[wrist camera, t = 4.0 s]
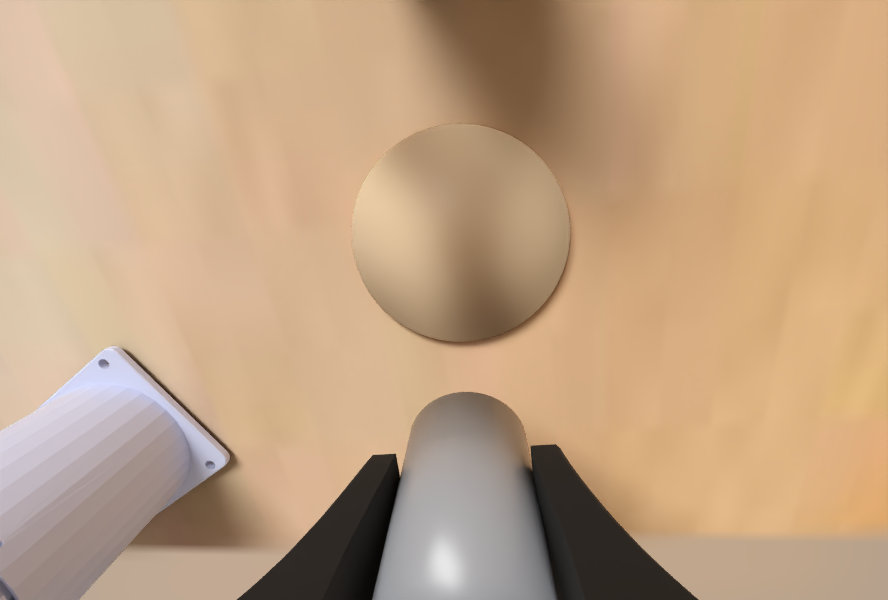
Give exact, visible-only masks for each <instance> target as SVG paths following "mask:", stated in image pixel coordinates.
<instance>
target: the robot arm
mask: <svg viewBox="0 0 888 600" xmlns="http://www.w3.org/2000/svg"><path fill="white" fill-rule="evenodd" d="M105 360H106V361H107V362H108V363H109V364H107V362H106V361H105ZM531 457H532V472H533V477H534V482H535V487H536V492H537V498H538V503H539V507H540V511H541V516H542V521H543V527H544V532H545V537H546V542H547V547H548V552H549V558H550V563H551V568H552V573H553V578H554V583H555V589H556V594H557V599H558V600H698V599H697V598H696V597H694V596H693V595H692V594H691V593H690V592H689V591H688V590H687V589H685V588H684V587H683V586H682V585H681V584H680V583H679V582H678V581H676V580H675V579H674V578H673V577H672V576H671V575H670V574H669V573H668V572H666V571H665V570H664V569H663V568H662V567H661V566H660V565H659V564H658V563H657V562H656V561H655V560H654V559H653V558H651V556H650V555H648V554H647V553H646V552H645V551H644V550H643V549H642V548H641V547H640V546H639V545H638V543H637V542H636V541H635V540H634V539H633V538H632V537H631V536H630V535H629V534H628V533H627V532H626V531H625V530H624V529H623V528H622V527H621V526H620V524H619V523H618V522H617V521H616V520H615V519H614V518H613V517H612V516H611V514H610V513H609V512H608V511H607V510H606V509H605V508H604V506H603V505H602V504H601V503H600V502H599V500H598V499H597V498H596V497H595V496H594V494H593V493H592V492H591V491H590V489H589V488H588V487H587V486H586V484H585V483H584V482H583V481H582V479H581V478H580V477H579V475H578V474H577V473H576V471H575V470H574V468H573V467H572V466H571V464H570V463H569V461H568V460H567V458H566V457H565V455H564V454H563V452H562V451H561V449H560V448H559V447H558V446H557V445H556V444H555V445H538V446H531ZM229 460H230V455H229V453H228V452H227V451H226V450H225V449H224V448H223V447H222V446H221V445H220V444H219V443H218V442H217V441H216V440H215V439H214V438H213V437H212V436H211V435H210V434H209V433H208V432H207V431H206V430H205V429H204V428H203V427H202V426H201V425H200V424H199V423H198V422H196V421H195V420H194V419H193V418H192V417H191V416H190V415H189V414H188V413H187V412H186V411H185V410H184V409H183V408H182V407H181V406H180V405H179V404H178V403H177V402H176V401H175V400H174V399H173V398H172V397H171V396H170V395H169V394H168V393H167V392H166V391H165V390H163V389H162V388H161V387H160V386H159V385H158V384H157V383H156V382H155V381H154V380H153V379H152V378H151V377H150V376H149V375H148V374H147V373H146V372H145V371H144V370H143V369H142V368H141V367H140V366H139V365H138V364H137V363H136V362H135V361H134V360H133V359H132V358H130V357H129V356H128V355H127V354H126V353H125V352H124V351H123V350H122V349H121V348H119V347H117V346H110V347H108V348H106V349H104V350H103V351H101V352H100V353H99V354H98V355H97V356H96V357H95V358H94V359H92V360H91V361H90V362H89V363H88V364H87V365H86V366H85V367H84V368H82V369H81V370H80V371H79V372H78V373H77V374H76V375H75V376H74V377H72V378H71V379H70V380H69V381H68V382H67V383H66V384H65V385H63V386H62V387H61V388H60V389H59V390H58V391H57V392H56V393H55V394H53V395H52V396H51V397H50V398H49V399H48V400H47V401H46V402H44V403H43V404H42V405H41V406H40V407H39V408H38V409H37V410H36V411H34V412H33V413H31V414H29V415H28V416H26V417H24V418H22V419H20V420H19V421H17V422H15V423H13V424H12V425H10V426H8V427H6V428H4V429H3V430H1V431H0V600H79V599H80V598H81V597H82V596H83V595H84V594H85V592H86V591H87V590H88V589H89V588H90V587H91V586H92V584H94V583H95V581H96V580H97V579H98V578H99V577H100V576H101V575H102V574H103V573H104V572H105V570H106V569H107V568H108V567H109V566H110V565H111V564H112V563H113V562H114V560H115V559H116V558H117V557H118V556H119V555H120V554H121V553H122V552H123V551H124V549H125V548H126V547H127V546H128V545H129V544H130V543H131V542H132V541H133V539H134V538H135V537H136V536H137V535H138V534H139V533H140V532H141V531H142V529H143V528H144V527H145V526H146V525H147V524H148V523H149V522H150V521H151V520H152V518H153V517H154V516H155V515H157V514H158V513H159V512H161V511H162V510H164V509H165V508H167V507H168V506H169V505H171V504H172V503H174V502H175V501H176V500H178V499H179V498H181V497H182V496H183V495H185V494H186V493H188V492H189V491H190V490H192V489H193V488H195V487H196V486H198V485H199V484H200V483H202V482H203V481H205V480H206V479H207V478H209V477H210V476H212V475H213V474H214V473H216V472H217V471H219V470H220V469H222V468H223V467H224V466H225V465H226V464H227V463H228V462H229ZM211 461H212V462H213V463H214V464H213V463H211ZM399 480H400V475H399V469H398V464H397V458H396V454H385V455H373V456H372V457H371V458H370V459H369V460H368V461H367V463H366V464H365V465H364V466H363V467H362V469H361V470H360V471H359V472H358V474H357V475H356V476H355V477H354V479H353V480H352V481H351V482H350V484H349V485H348V486H347V487H346V489H345V490H344V491H343V492H342V493H341V495H340V496H339V497H338V498H337V499H336V501H335V502H334V503H333V504H332V505H331V507H330V508H329V509H328V510H327V511H326V512H325V514H324V515H323V516H322V517H321V518H320V519H319V520H318V522H317V523H316V524H315V525H314V526H313V527H312V528H311V529H310V530H309V531H308V532H307V534H306V535H305V536H304V537H303V538H302V539H301V540H300V541H299V542H298V543H297V544H296V545H295V546H294V548H293V549H292V550H291V551H290V552H289V553H288V554H287V555H286V556H285V557H284V558H283V559H282V560H281V561H280V562H278V563H277V564H276V565H275V566H274V567H273V568H272V569H271V570H270V571H269V572H268V573H267V574H266V575H265V576H263V577H262V579H260V580H259V581H258V582H257V583H256V584H255V585H254V586H252V587H251V588H250V589H249V590H248V591H247V592H246V593H244V594H243V595H242V596H241V597H239V598H238V599H237V600H372V598H373V593H374V589H375V585H376V580H377V576H378V572H379V567H380V563H381V559H382V554H383V550H384V546H385V541H386V537H387V533H388V528H389V524H390V519H391V515H392V511H393V506H394V502H395V498H396V493H397V489H398V485H399Z"/></svg>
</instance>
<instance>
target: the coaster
mask: <svg viewBox="0 0 888 600" xmlns="http://www.w3.org/2000/svg"><path fill="white" fill-rule="evenodd" d="M569 245H570V222H569V213H568V209H567V205H566V201H565V198H564V195H563V193H562V190H561V188H560V185H559V183H558V182H557V180H556V178H555V176H554V175H553V173H552V171H551V170H550V169H549V168H548V166H547V165H546V164H545V162H544V161H543V160H542V159H541V158H540V157H539V156H538V155H537V154H536V153H535V152H534V151H533V150H532V149H531V148H529V147H528V146H526V145H525V144H524V143H522V142H521V141H520V140H518V139H516V138H514V137H512V136H510V135H509V134H507V133H505V132H502V131H499V130H496V129H493V128H491V127H486V126H481V125H476V124H461V123H459V124H446V125H441V126H436V127H432V128H428V129H426V130H423V131H420V132H418V133H415V134H413V135H411V136H410V137H408V138H406V139H404V140H402V141H401V142H399V143H398V144H397V145H395V146H394V147H393V148H391V149H390V150H389V151H388V152H387V153H386V154H385V155H384V156H383V157H382V158H381V159H380V160H379V161H378V162H377V163H376V165H375V166H374V167H373V169H372V170H371V171H370V173H369V174H368V176H367V178H366V180H365V181H364V183H363V185H362V187H361V190H360V192H359V194H358V197H357V200H356V204H355V208H354V211H353V219H352V247H353V254H354V258H355V262H356V265H357V269H358V271H359V274H360V276H361V278H362V281H363V282H364V284H365V286H366V288H367V290H368V291H369V293H370V294H371V296H372V297H373V298H374V300H375V301H376V302H377V303H378V305H379V306H380V307H381V308H382V309H383V310H384V311H385V312H386V313H387V314H388V315H390V316H391V317H392V318H393V319H395V320H396V321H397V322H399V323H400V324H402V325H403V326H405V327H407V328H408V329H410V330H413V331H415V332H417V333H419V334H422V335H425V336H427V337H430V338H434V339H439V340H444V341H454V342H467V341H477V340H483V339H487V338H491V337H494V336H497V335H500V334H502V333H505V332H507V331H509V330H511V329H513V328H515V327H516V326H518V325H520V324H521V323H523V322H524V321H525V320H527V319H528V318H529V317H531V316H532V315H533V314H534V313H535V312H536V311H537V310H538V309H539V308H540V307H541V306H542V305H543V304H544V303H545V301H546V300H547V299H548V298H549V296H550V295H551V294H552V292H553V290H554V289H555V287H556V285H557V284H558V282H559V279H560V277H561V275H562V273H563V270H564V267H565V264H566V260H567V257H568V251H569Z"/></svg>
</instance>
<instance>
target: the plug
mask: <svg viewBox="0 0 888 600" xmlns="http://www.w3.org/2000/svg"><path fill="white" fill-rule="evenodd" d="M372 600H558V599H557V594H556V589H555V583H554V578H553V573H552V568H551V563H550V558H549V552H548V547H547V542H546V537H545V532H544V527H543V521H542V516H541V511H540V507H539V503H538V498H537V492H536V487H535V482H534V477H533V472H532V465H531V460H530V454H529V449H528V444H527V439H526V434H525V430H524V427H523V425H522V423H521V421H520V419H519V418H518V416H517V415H516V414H515V413H514V412H513V411H512V409H510V408H509V407H508V406H507V405H506V404H504V403H503V402H501V401H499V400H497V399H495V398H493V397H491V396H488V395H485V394H480V393H474V392H459V393H452V394H449V395H445V396H443V397H440V398H438V399H436V400H434V401H432V402H431V403H430V404H428V405H427V406H426V407H425V408H424V409H423V410H422V411H421V412H420V413H419V414H418V416H417V417H416V419H415V421H414V423H413V425H412V428H411V433H410V437H409V441H408V446H407V450H406V454H405V459H404V463H403V467H402V472H401V476H400V480H399V485H398V489H397V493H396V498H395V502H394V506H393V511H392V515H391V519H390V524H389V528H388V533H387V537H386V541H385V546H384V550H383V554H382V559H381V563H380V567H379V572H378V576H377V580H376V585H375V589H374V593H373V598H372Z"/></svg>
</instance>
